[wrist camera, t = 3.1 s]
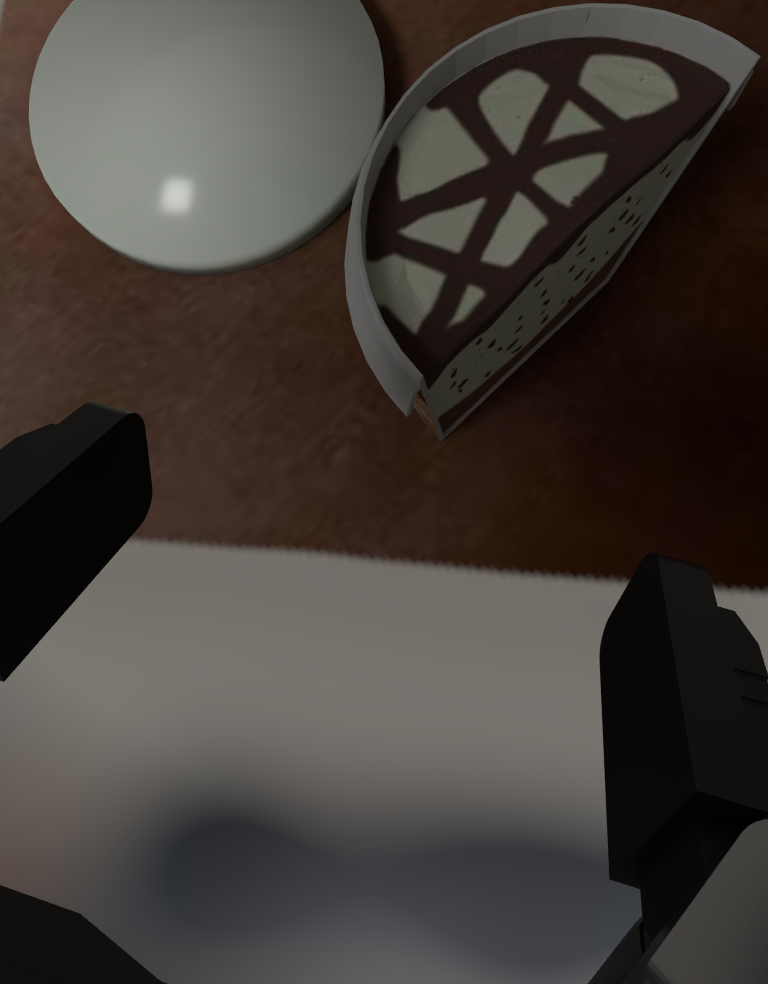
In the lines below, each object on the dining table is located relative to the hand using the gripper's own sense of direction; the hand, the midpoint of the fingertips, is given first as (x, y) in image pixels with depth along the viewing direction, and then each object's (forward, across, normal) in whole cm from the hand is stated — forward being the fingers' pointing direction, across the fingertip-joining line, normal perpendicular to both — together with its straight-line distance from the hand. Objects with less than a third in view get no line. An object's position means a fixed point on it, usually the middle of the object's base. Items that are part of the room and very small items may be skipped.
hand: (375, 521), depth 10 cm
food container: (+17, 0, +3) cm, 17 cm away
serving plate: (+21, +13, -2) cm, 25 cm away
